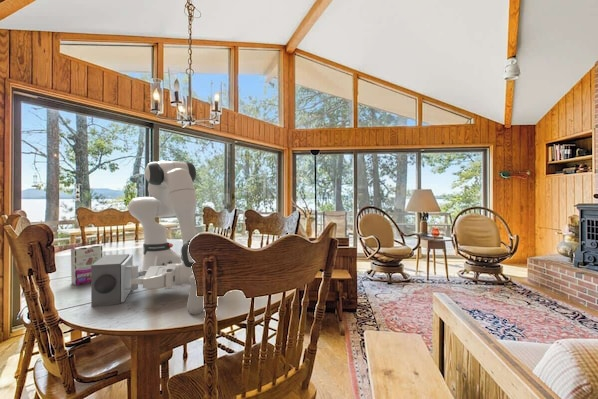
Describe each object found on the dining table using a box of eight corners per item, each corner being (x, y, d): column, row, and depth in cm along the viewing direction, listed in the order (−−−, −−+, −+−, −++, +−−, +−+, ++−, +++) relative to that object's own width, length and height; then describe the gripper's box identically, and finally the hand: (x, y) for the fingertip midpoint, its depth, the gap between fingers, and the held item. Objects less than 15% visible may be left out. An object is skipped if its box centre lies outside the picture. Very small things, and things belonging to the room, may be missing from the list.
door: (130, 287, 128) (130, 254, 127) (143, 286, 129) (143, 254, 129) (120, 302, 110) (120, 264, 110) (136, 300, 112) (136, 263, 112)
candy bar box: (97, 278, 142) (98, 244, 142) (103, 279, 140) (103, 245, 139) (70, 283, 133) (70, 247, 132) (75, 285, 130) (75, 248, 130)
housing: (104, 290, 124) (104, 255, 124) (129, 288, 127) (129, 254, 127) (89, 308, 106) (90, 266, 105) (118, 305, 109) (119, 264, 108)
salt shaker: (189, 309, 106) (189, 273, 106) (205, 308, 107) (206, 272, 106) (184, 315, 100) (184, 277, 100) (201, 315, 101) (202, 277, 101)
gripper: (172, 261, 129) (137, 263, 124) (170, 273, 110) (127, 276, 105) (172, 275, 129) (137, 278, 124) (170, 290, 110) (127, 294, 105)
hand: (132, 277), depth 115 cm, fingers open, 8 cm apart
